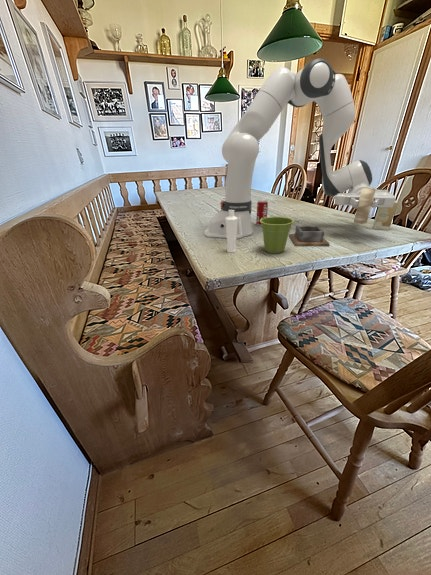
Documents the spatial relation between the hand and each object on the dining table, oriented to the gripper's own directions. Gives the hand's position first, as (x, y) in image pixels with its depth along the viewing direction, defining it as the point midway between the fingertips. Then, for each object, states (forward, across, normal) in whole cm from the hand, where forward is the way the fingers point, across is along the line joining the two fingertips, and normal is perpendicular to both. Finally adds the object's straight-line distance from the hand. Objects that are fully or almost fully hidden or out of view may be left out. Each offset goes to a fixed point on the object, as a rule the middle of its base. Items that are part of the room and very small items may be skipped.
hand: (365, 203), depth 90 cm
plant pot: (+17, -29, +16) cm, 37 cm away
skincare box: (-26, +13, +15) cm, 32 cm away
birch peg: (-1, 0, +7) cm, 7 cm away
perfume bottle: (+23, -44, +16) cm, 52 cm away
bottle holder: (+2, -18, +15) cm, 23 cm away
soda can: (-18, -41, +16) cm, 48 cm away
